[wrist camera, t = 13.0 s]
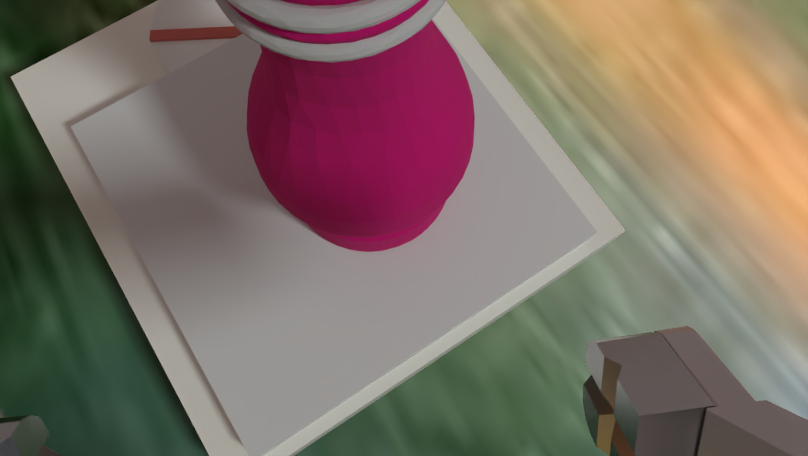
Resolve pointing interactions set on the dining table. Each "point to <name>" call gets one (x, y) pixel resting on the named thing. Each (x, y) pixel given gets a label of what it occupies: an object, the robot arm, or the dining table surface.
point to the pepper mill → (356, 114)
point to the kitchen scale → (289, 229)
